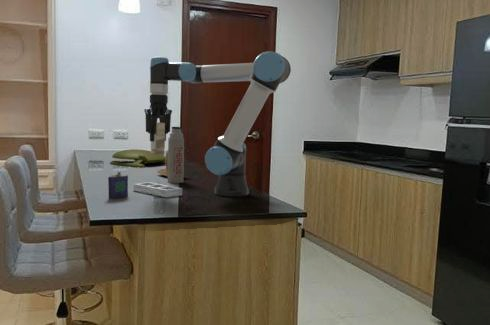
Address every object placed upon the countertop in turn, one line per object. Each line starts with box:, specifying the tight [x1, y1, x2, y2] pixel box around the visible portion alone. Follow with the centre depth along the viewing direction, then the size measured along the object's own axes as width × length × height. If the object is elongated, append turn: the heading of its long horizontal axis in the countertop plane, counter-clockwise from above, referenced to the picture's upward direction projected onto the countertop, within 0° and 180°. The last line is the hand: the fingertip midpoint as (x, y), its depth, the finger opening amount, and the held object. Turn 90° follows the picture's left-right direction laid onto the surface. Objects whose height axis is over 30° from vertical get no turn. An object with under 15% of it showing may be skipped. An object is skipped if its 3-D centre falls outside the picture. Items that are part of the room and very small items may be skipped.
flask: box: [107, 171, 129, 200], centre depth 188 cm, size 9×3×11 cm, turn 144°
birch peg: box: [150, 121, 166, 156], centre depth 200 cm, size 4×4×14 cm
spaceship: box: [109, 148, 166, 169], centre depth 310 cm, size 35×31×10 cm
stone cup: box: [156, 149, 168, 178], centre depth 255 cm, size 15×12×15 cm
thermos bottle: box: [167, 126, 185, 184], centre depth 235 cm, size 8×8×28 cm
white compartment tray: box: [133, 181, 183, 198], centre depth 203 cm, size 22×9×3 cm, turn 50°
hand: (157, 148), depth 201 cm, fingers closed on birch peg, 4 cm apart
